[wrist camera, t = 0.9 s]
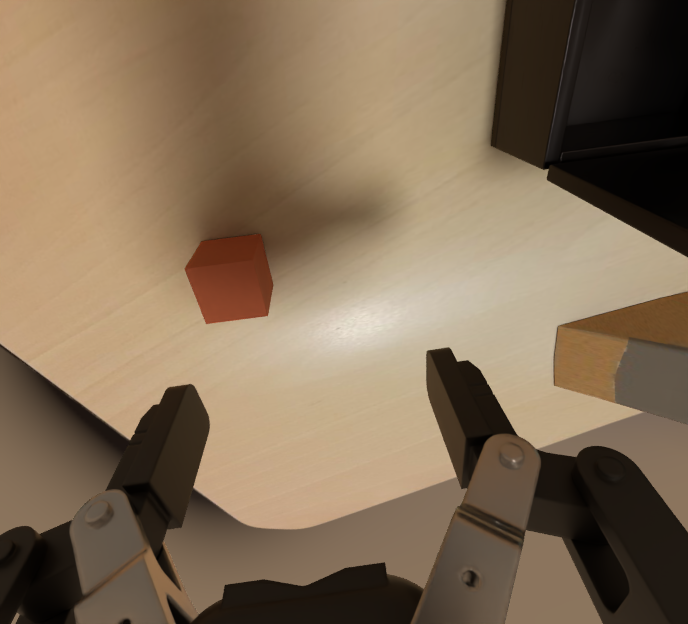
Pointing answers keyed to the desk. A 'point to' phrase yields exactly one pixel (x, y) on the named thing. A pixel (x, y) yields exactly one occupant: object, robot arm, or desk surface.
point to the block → (231, 278)
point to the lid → (635, 191)
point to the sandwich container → (630, 357)
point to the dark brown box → (591, 79)
